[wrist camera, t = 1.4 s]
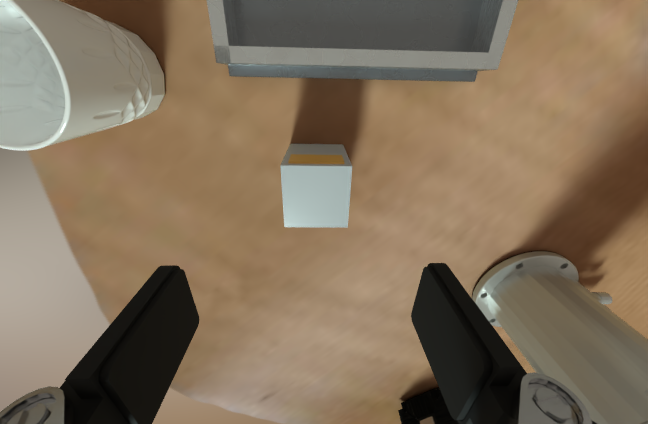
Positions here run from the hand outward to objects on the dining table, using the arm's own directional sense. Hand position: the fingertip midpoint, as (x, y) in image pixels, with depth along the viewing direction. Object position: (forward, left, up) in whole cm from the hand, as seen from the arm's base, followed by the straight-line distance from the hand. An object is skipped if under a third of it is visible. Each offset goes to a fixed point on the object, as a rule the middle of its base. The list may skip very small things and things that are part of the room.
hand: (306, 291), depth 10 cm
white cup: (+16, -8, -17) cm, 24 cm away
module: (0, 0, -17) cm, 17 cm away
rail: (-3, -13, -16) cm, 21 cm away
